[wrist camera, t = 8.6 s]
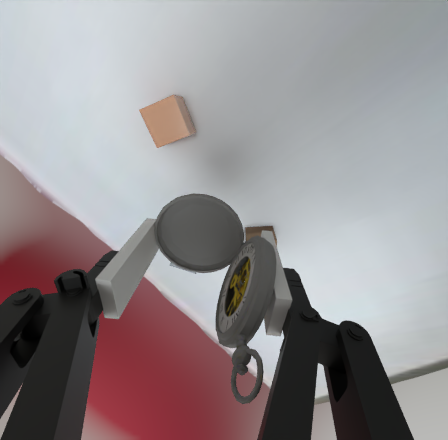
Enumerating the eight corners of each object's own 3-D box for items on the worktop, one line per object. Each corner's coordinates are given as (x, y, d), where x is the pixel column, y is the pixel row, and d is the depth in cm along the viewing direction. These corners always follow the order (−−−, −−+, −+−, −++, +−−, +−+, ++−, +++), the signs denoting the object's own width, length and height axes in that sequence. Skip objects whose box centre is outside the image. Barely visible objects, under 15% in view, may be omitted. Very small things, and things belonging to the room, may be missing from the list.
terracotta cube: (152, 110, 32) (139, 109, 27) (182, 97, 31) (173, 94, 26) (167, 143, 34) (157, 148, 29) (196, 132, 33) (189, 135, 28)
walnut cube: (245, 227, 40) (246, 241, 35) (272, 225, 39) (276, 239, 35) (246, 249, 42) (247, 265, 38) (272, 248, 42) (276, 264, 37)
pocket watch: (147, 197, 15) (22, 313, 7) (263, 180, 14) (302, 293, 5) (176, 281, 19) (122, 430, 10) (271, 273, 18) (303, 433, 9)
